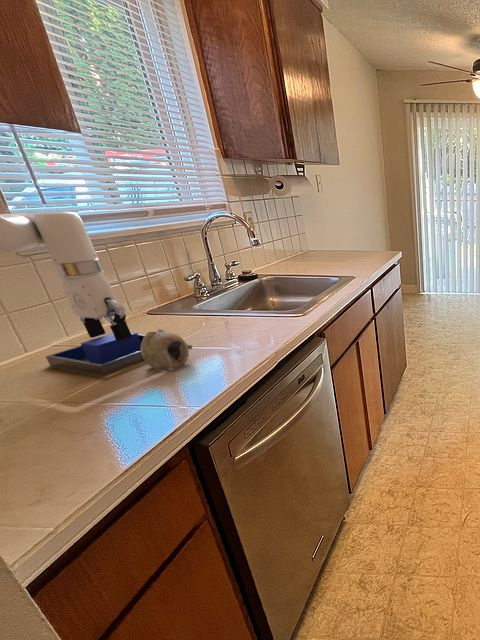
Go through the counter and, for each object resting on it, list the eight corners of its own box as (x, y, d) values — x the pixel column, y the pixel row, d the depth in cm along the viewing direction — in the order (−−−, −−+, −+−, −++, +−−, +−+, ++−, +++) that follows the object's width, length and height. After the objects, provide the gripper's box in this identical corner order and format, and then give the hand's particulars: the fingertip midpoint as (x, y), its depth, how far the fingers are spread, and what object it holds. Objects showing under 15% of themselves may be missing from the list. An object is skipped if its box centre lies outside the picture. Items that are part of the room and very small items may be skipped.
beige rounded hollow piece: (155, 382, 95) (121, 350, 89) (166, 363, 101) (135, 332, 95) (194, 366, 96) (163, 334, 90) (202, 348, 102) (174, 317, 96)
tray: (51, 368, 97) (45, 356, 96) (128, 342, 112) (124, 331, 111) (105, 378, 91) (99, 366, 90) (179, 350, 107) (175, 338, 105)
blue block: (89, 361, 99) (80, 343, 97) (128, 348, 106) (120, 330, 104) (105, 364, 97) (96, 345, 95) (143, 350, 105) (136, 332, 103)
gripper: (36, 270, 92) (71, 339, 99) (86, 273, 87) (118, 346, 94) (75, 264, 98) (104, 329, 105) (123, 266, 93) (150, 335, 100)
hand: (111, 337), depth 100 cm, fingers open, 9 cm apart
